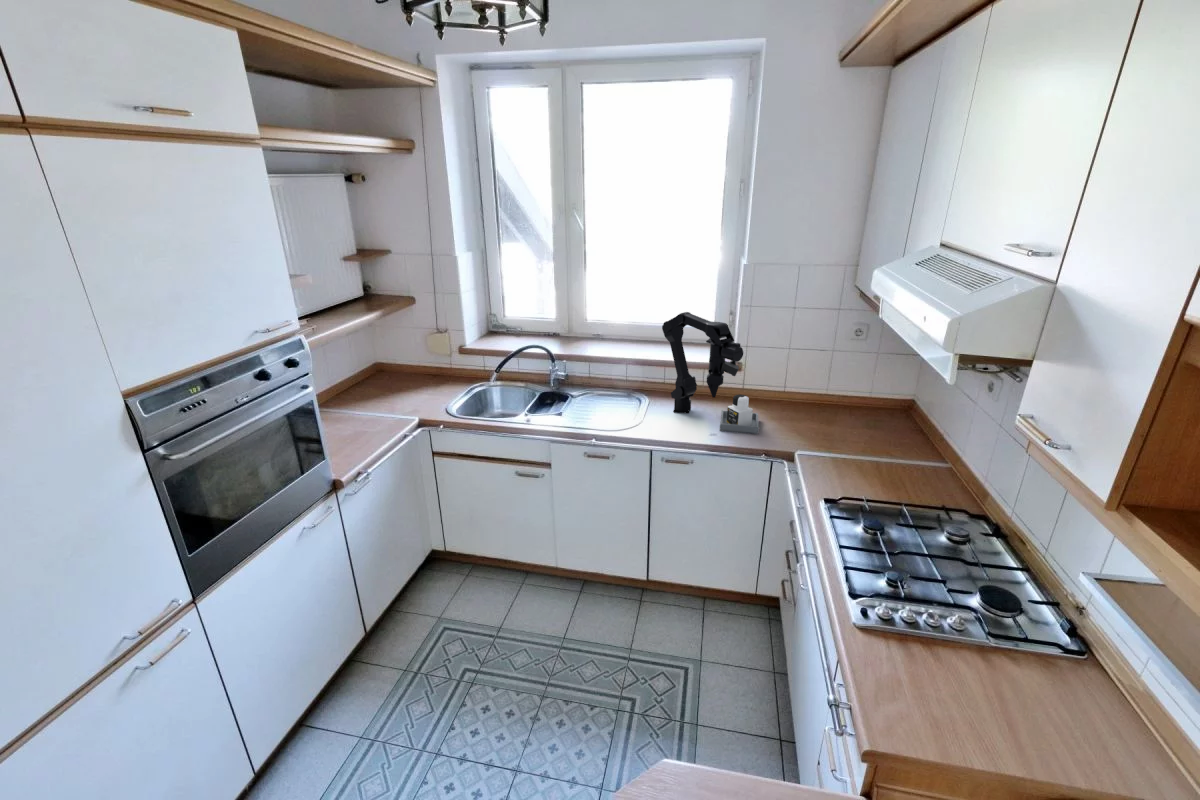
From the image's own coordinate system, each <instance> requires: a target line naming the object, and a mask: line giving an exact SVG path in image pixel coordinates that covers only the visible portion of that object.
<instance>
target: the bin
mask: <svg viewBox="0 0 1200 800" xmlns="http://www.w3.org/2000/svg"><path fill="white" fill-rule="evenodd" d="M719 423H720V424H719V432H725V431H726V432H727V433H737V432H738V433H739V434H748V433H750V434H751V435H759V429H760V427H759V413H758V412H753V413H752V423H751V426H747V425H736V424H729V423H727V410H723V409H722V410H721V413H720V421H719Z"/></svg>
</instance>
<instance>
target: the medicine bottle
mask: <svg viewBox="0 0 1200 800" xmlns="http://www.w3.org/2000/svg"><path fill="white" fill-rule="evenodd" d="M749 401H750V398H749V396H748V395H747V394H746V395H745V394H735V395H734V396H733V397H732V405H728V406H727V409H726V411H727V423H729V424H736V425H747V426H751V423H752V413H754V412H753V411H754V409H753V408H752V407H749Z"/></svg>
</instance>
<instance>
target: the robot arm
mask: <svg viewBox="0 0 1200 800" xmlns="http://www.w3.org/2000/svg"><path fill="white" fill-rule="evenodd" d="M686 326H689V327H692V328H695V329H696V330H699V331H701V332H703V333H704V334H705V335H706V337H708V339H707V340H705V343H707V344H710V346H709V358H708V369H707V372H708V374H707V375H706V385H707V386H708V388H709V392H710V394H711V396H712V398H716V396H717V392H718V390H719V387H720V386H722V385H723V384H724V374H725V373H726V374H729V375H731V376H733V377H736V376H737V373H738V372H739V368H740V367H739V365H738V364H737V363H738V362H740V361H741V359H743V357H744V350H743V348H742V346H741V343H739V342H735V339H734V336H733V334H732V333H731V331H730V328H729V325H728V323H725V322H720V321H710V320H708V319H705V318H703V317H700V316H698V315H695V314H693V313H691V312H690V311H689V312H688V311H684V312H679V314H677V315H676V316H674V317H672V318H670V319H669V320H667V321H664V322H663V324H662V327H661V328H662V330H661V331H662V332H663V335H664V337H665V339H666V341H668V342H669V345H670V348H671V353H672V354H671V355H672V359H673V362H674V368H675V371H676V379H675V382H674V383H675V389H674V390H672V391H671V392H670V396H671V399H673V400H674V406H673V407H674V408H673V413H675V412H677V413H679V414H690V412H691V409H692V399H691V397H694V395H695V393H696V391H697V389H698V387H697V386H698V384H697V380H696V377H695V376H692V375H691V374H690V372H689V367H688V363H687V358H686V354H685V349H684V345H683V341H682V340H683V337H684V333H685V332H684V328H685V327H686ZM726 360H730V361H726ZM677 413H676V414H677Z"/></svg>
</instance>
